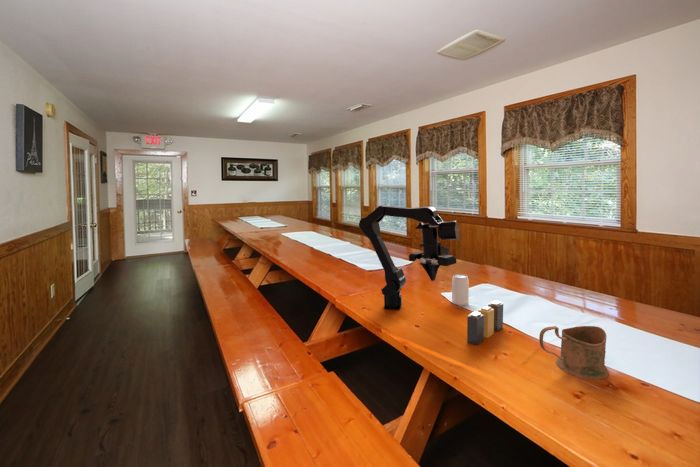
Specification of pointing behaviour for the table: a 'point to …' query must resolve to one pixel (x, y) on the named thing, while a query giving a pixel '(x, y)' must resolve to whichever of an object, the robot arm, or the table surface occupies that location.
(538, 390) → the table surface
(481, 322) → the grey columns
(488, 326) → the tan faceted column
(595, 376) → the mug
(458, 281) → the can
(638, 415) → the table surface
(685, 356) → the table surface
